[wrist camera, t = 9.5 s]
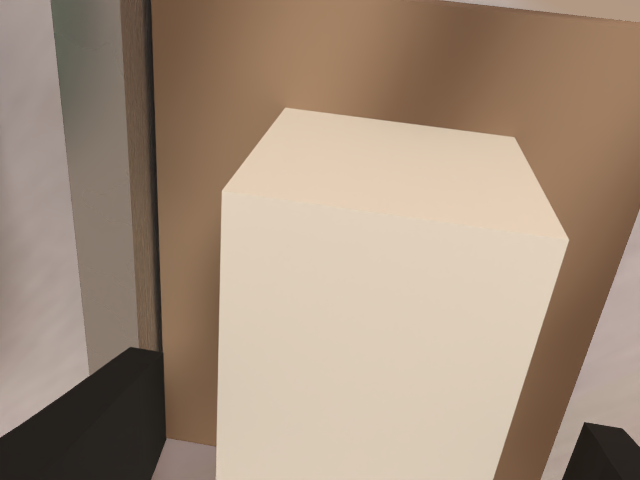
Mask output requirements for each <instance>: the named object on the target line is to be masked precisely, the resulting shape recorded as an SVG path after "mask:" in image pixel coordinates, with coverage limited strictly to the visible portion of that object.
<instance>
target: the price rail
mask: <svg viewBox="0 0 640 480" xmlns="http://www.w3.org/2000/svg"><path fill="white" fill-rule="evenodd" d="M51 9H52V18H53V28H54V38H55V47H56V57H57V66H58V76H59V86H60V95H61V105H62V114H63V124H64V133H65V143H66V153H67V162H68V172H69V181H70V191H71V201H72V210H73V220H74V229H75V239H76V249H77V258H78V268H79V277H80V287H81V296H82V306H83V316H84V325H85V335H86V344H87V354H88V364H89V373H90V375H92V374H93V373H94V372H96V371H97V370H98V369H100V368H101V367H103V366H104V365H105V364H107V363H108V362H109V361H111V360H112V359H114V358H115V357H116V356H118V355H119V354H121V353H122V352H124V351H125V350H126V349H128V348H129V347H134V348H140V349H146V350H152V351H159V352H163V342H162V311H161V281H160V251H159V221H158V191H157V161H156V130H155V100H154V70H153V40H152V10H151V0H51Z"/></svg>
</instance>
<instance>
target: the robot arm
mask: <svg viewBox="0 0 640 480" xmlns="http://www.w3.org/2000/svg"><path fill="white" fill-rule="evenodd" d="M165 441H166V415H165V384H164V353H163V352H159V351H152V350H146V349H140V348H134V347H129V348H128V349H126V350H125V351H124V352H122V353H121V354H119V355H118V356H116V357H115V358H114V359H112V360H111V361H109V362H108V363H107V364H105V365H104V366H103V367H101V368H100V369H98V370H97V371H96V372H94V373H93V374H92V375H90V376H89V377H87V378H86V379H85V380H83V381H82V382H81V383H79V384H78V385H76V386H75V387H74V388H72V389H71V390H69V391H68V392H67V393H65V394H64V395H63V396H61V397H60V398H58V399H57V400H55V401H54V402H52V403H51V404H50V405H48V406H47V407H45V408H44V409H42V410H41V411H40V412H38V413H37V414H35V415H34V416H32V417H31V418H30V419H28V420H27V421H25V422H24V423H22V424H21V425H19V426H18V427H16V428H15V429H13V430H12V431H10V432H8V433H7V434H5V435H4V436H2V437H1V438H0V480H151V478H152V475H153V473H154V470H155V468H156V465H157V462H158V460H159V457H160V454H161V452H162V449H163V446H164V444H165ZM562 480H640V447H639V446H638V445H637V444H636V443H635V441H634V440H633V439H632V438H631V437H630V436H629V435H628V434H627V433H626V432H625V431H624V430H623V429H622V428H616V427H610V426H604V425H598V424H592V423H586V422H584V425H583V427H582V430H581V433H580V435H579V438H578V440H577V443H576V445H575V448H574V451H573V453H572V456H571V458H570V461H569V463H568V466H567V468H566V471H565V474H564V476H563V479H562Z"/></svg>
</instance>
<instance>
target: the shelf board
mask: <svg viewBox="0 0 640 480" xmlns="http://www.w3.org/2000/svg"><path fill="white" fill-rule="evenodd" d="M151 10H152V40H153V70H154V100H155V130H156V161H157V191H158V221H159V251H160V281H161V311H162V342H163V353H164V384H165V415H166V438H171V439H176V440H182V441H188V442H193V443H199V444H205V445H211V446H217V398H218V349H219V301H220V253H221V204H222V190H223V189H224V187H225V186H226V185H227V183H228V182H229V181H230V179H231V178H232V177H233V175H234V174H235V173H236V172H237V170H238V169H239V168H240V166H241V165H242V164H243V162H244V161H245V160H246V158H247V157H248V156H249V154H250V153H251V152H252V151H253V149H254V148H255V147H256V145H257V144H258V143H259V141H260V140H261V139H262V137H263V136H264V135H265V134H266V132H267V131H268V130H269V128H270V127H271V126H272V124H273V123H274V122H275V120H276V119H277V118H278V116H279V115H280V114H281V113H282V111H283V110H284V109H285V108H292V109H300V110H307V111H315V112H323V113H331V114H338V115H346V116H354V117H362V118H369V119H377V120H385V121H393V122H400V123H408V124H416V125H424V126H431V127H439V128H447V129H455V130H462V131H470V132H478V133H486V134H493V135H501V136H509V137H515V139H516V141H517V143H518V145H519V147H520V149H521V150H522V152H523V154H524V156H525V158H526V160H527V162H528V164H529V165H530V167H531V169H532V171H533V173H534V175H535V177H536V179H537V180H538V182H539V184H540V186H541V188H542V190H543V192H544V194H545V195H546V197H547V199H548V201H549V203H550V205H551V207H552V209H553V210H554V212H555V214H556V216H557V218H558V220H559V222H560V224H561V225H562V227H563V229H564V231H565V233H566V235H567V237H568V239H569V242H568V245H567V248H566V251H565V255H564V258H563V261H562V264H561V267H560V270H559V273H558V277H557V280H556V283H555V286H554V289H553V292H552V295H551V299H550V302H549V305H548V308H547V311H546V314H545V318H544V321H543V324H542V327H541V330H540V333H539V336H538V340H537V343H536V346H535V349H534V352H533V355H532V358H531V362H530V365H529V368H528V371H527V374H526V377H525V380H524V384H523V387H522V390H521V393H520V396H519V399H518V403H517V406H516V409H515V412H514V415H513V418H512V421H511V425H510V428H509V431H508V434H507V437H506V440H505V443H504V447H503V450H502V453H501V456H500V459H499V462H498V465H497V469H496V472H495V475H494V478H493V480H540V479H541V476H542V474H543V471H544V468H545V466H546V463H547V460H548V457H549V455H550V452H551V449H552V446H553V444H554V441H555V438H556V436H557V433H558V430H559V427H560V425H561V422H562V419H563V416H564V414H565V411H566V408H567V406H568V403H569V400H570V397H571V395H572V392H573V389H574V386H575V384H576V381H577V378H578V376H579V373H580V370H581V367H582V365H583V362H584V359H585V356H586V354H587V351H588V348H589V346H590V343H591V340H592V337H593V335H594V332H595V329H596V326H597V324H598V321H599V318H600V316H601V313H602V310H603V307H604V305H605V302H606V299H607V296H608V294H609V291H610V288H611V286H612V283H613V280H614V277H615V275H616V272H617V269H618V266H619V264H620V261H621V258H622V255H623V253H624V250H625V247H626V245H627V242H628V239H629V236H630V234H631V231H632V228H633V225H634V223H635V220H636V217H637V215H638V212H639V209H640V22H631V21H622V20H613V19H604V18H594V17H586V16H577V15H568V14H559V13H550V12H541V11H532V10H523V9H514V8H505V7H496V6H487V5H478V4H469V3H460V2H451V1H442V0H151Z"/></svg>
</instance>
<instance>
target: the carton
mask: <svg viewBox="0 0 640 480" xmlns="http://www.w3.org/2000/svg"><path fill="white" fill-rule="evenodd" d="M568 242H569V239H568V237H567V235H566V233H565V231H564V229H563V227H562V225H561V224H560V222H559V220H558V218H557V216H556V214H555V212H554V210H553V209H552V207H551V205H550V203H549V201H548V199H547V197H546V195H545V194H544V192H543V190H542V188H541V186H540V184H539V182H538V180H537V179H536V177H535V175H534V173H533V171H532V169H531V167H530V165H529V164H528V162H527V160H526V158H525V156H524V154H523V152H522V150H521V149H520V147H519V145H518V143H517V141H516V139H515V137H509V136H501V135H493V134H486V133H478V132H470V131H462V130H455V129H447V128H439V127H431V126H424V125H416V124H408V123H400V122H393V121H385V120H377V119H369V118H362V117H354V116H346V115H338V114H331V113H323V112H315V111H307V110H300V109H292V108H285V109H284V110H283V111H282V113H281V114H280V115H279V116H278V118H277V119H276V120H275V122H274V123H273V124H272V126H271V127H270V128H269V130H268V131H267V132H266V134H265V135H264V136H263V137H262V139H261V140H260V141H259V143H258V144H257V145H256V147H255V148H254V149H253V151H252V152H251V153H250V154H249V156H248V157H247V158H246V160H245V161H244V162H243V164H242V165H241V166H240V168H239V169H238V170H237V172H236V173H235V174H234V175H233V177H232V178H231V179H230V181H229V182H228V183H227V185H226V186H225V187H224V189H223V190H222V204H221V253H220V301H219V349H218V398H217V446H216V480H493V478H494V475H495V472H496V469H497V465H498V462H499V459H500V456H501V453H502V450H503V447H504V443H505V440H506V437H507V434H508V431H509V428H510V425H511V421H512V418H513V415H514V412H515V409H516V406H517V403H518V399H519V396H520V393H521V390H522V387H523V384H524V380H525V377H526V374H527V371H528V368H529V365H530V362H531V358H532V355H533V352H534V349H535V346H536V343H537V340H538V336H539V333H540V330H541V327H542V324H543V321H544V318H545V314H546V311H547V308H548V305H549V302H550V299H551V295H552V292H553V289H554V286H555V283H556V280H557V277H558V273H559V270H560V267H561V264H562V261H563V258H564V255H565V251H566V248H567V245H568Z"/></svg>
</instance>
